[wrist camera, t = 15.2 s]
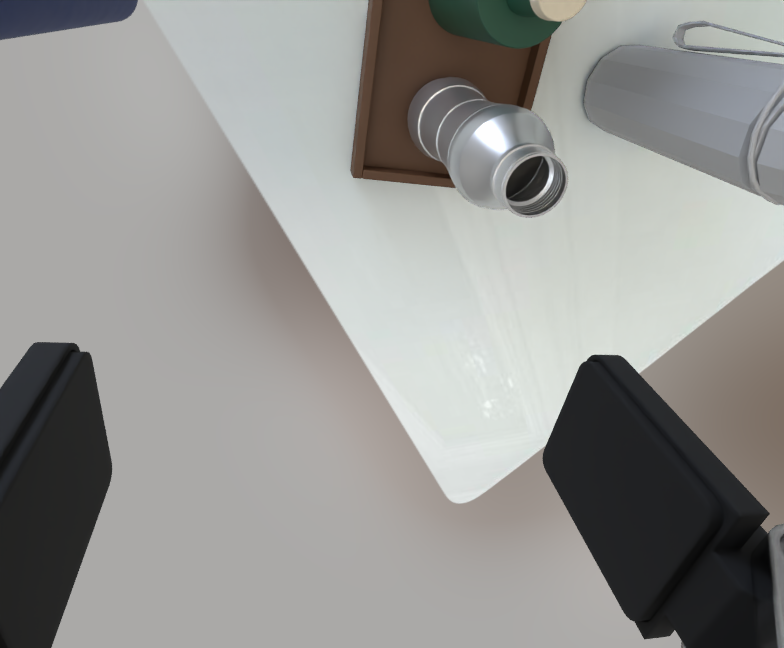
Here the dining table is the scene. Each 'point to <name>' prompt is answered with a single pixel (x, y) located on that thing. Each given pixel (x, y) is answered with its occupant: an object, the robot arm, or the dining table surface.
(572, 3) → the green bottle
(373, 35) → the tray
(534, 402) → the dining table surface
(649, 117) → the water bottle
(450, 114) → the silver metal bottle
